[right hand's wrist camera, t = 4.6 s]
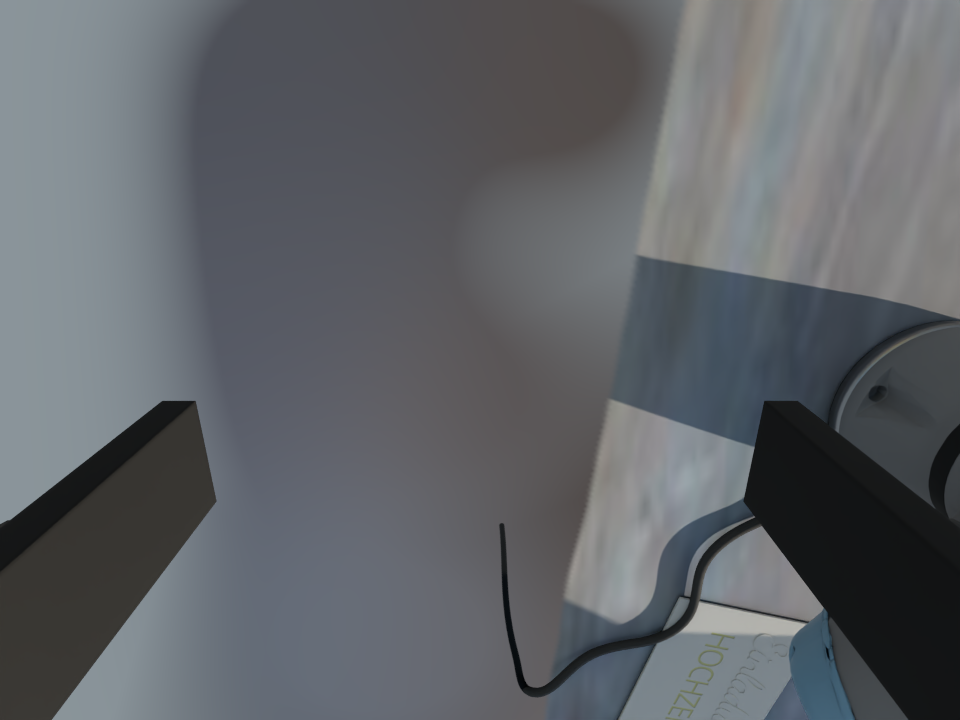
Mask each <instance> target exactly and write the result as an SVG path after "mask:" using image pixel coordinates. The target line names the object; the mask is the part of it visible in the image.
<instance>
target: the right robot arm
mask: <svg viewBox="0 0 960 720" xmlns="http://www.w3.org/2000/svg"><path fill="white" fill-rule="evenodd" d="M215 503H216V497H215V492H214V487H213V482H212V477H211V473H210V468H209V463H208V458H207V454H206V449H205V444H204V439H203V434H202V430H201V425H200V420H199V415H198V410H197V405H196V401H162V402H161V403H159V404H158V405H157V406H155V407H154V408H153V409H152V410H150V411H149V412H148V413H146V414H145V415H144V416H143V417H141V418H140V419H139V420H137V421H136V422H135V423H134V424H132V425H131V426H130V427H129V428H127V429H126V430H125V431H124V432H122V433H121V434H120V435H118V436H117V437H116V438H115V439H113V440H112V441H111V442H110V443H108V444H107V445H106V446H104V447H103V448H102V449H101V450H99V451H98V452H97V453H95V454H94V455H93V456H92V457H90V458H89V459H88V460H86V461H85V462H84V463H83V464H81V465H80V466H79V467H78V468H76V469H75V470H74V471H72V472H71V473H70V474H69V475H67V476H66V477H65V478H64V479H62V480H61V481H60V482H58V483H57V484H56V485H55V486H53V487H52V488H51V489H49V490H48V491H47V492H46V493H44V494H43V495H42V496H41V497H39V498H38V499H37V500H35V501H34V502H33V503H32V504H30V505H29V506H28V507H26V508H25V509H24V510H23V511H21V512H20V513H19V514H18V515H16V516H15V517H14V518H12V519H11V520H8V521H6V522H4V523H2V524H0V720H52V719H53V717H54V716H55V715H56V713H57V712H58V711H59V709H60V708H61V707H62V705H63V704H64V703H65V701H66V700H67V699H68V697H69V696H70V695H71V693H72V692H73V691H74V689H75V688H76V687H77V685H78V684H79V683H80V681H81V680H82V679H83V678H84V676H85V675H86V674H87V672H88V671H89V669H90V668H91V667H92V666H93V664H94V663H95V662H96V660H97V659H98V658H99V656H100V655H101V654H102V652H103V651H104V650H105V648H106V647H107V646H108V644H109V643H110V642H111V640H112V639H113V638H114V636H115V635H116V634H117V632H118V631H119V630H120V629H121V627H122V626H123V625H124V623H125V622H126V620H127V619H128V618H129V617H130V615H131V614H132V612H133V611H134V610H135V609H136V607H137V606H138V605H139V603H140V602H141V601H142V599H143V598H144V597H145V595H146V594H147V593H148V591H149V590H150V589H151V587H152V586H153V585H154V583H155V582H156V581H157V579H158V578H159V577H160V575H161V574H162V573H163V571H164V570H165V569H166V568H167V566H168V565H169V563H170V562H171V561H172V560H173V558H174V557H175V556H176V554H177V553H178V552H179V550H180V549H181V548H182V546H183V545H184V544H185V542H186V541H187V540H188V538H189V537H190V536H191V534H192V533H193V532H194V530H195V529H196V528H197V526H198V525H199V524H200V522H201V521H202V520H203V518H204V517H205V516H206V514H207V513H208V512H209V511H210V509H211V508H212V507H213V505H214V504H215ZM744 503H745V504H746V505H747V507H748V508H749V509H750V511H751V512H752V513H753V515H754V516H755V518H753V519H751V520H749V521H747V522H745V523H743V524H741V525H739V526H737V527H735V528H733V529H732V530H730V531H728V532H727V533H725V534H724V535H723V536H721V537H720V538H719V539H718V540H716V541H715V542H714V543H713V544H712V545H711V546H710V547H709V548H708V549H707V551H706V552H705V553H704V554H703V556H702V558H701V559H700V561H699V563H698V565H697V568H696V571H695V575H694V579H693V585H692V591H691V597H690V602H689V604H688V607H687V609H686V611H685V613H684V614H683V616H682V617H681V618H680V619H679V620H678V621H677V622H676V623H675V624H674V625H672V626H671V627H669V628H668V629H666V630H664V631H662V632H659V633H657V634H653V635H650V636H646V637H641V638H635V639H629V640H623V641H617V642H613V643H608V644H605V645H602V646H598V647H596V648H594V649H591V650H589V651H587V652H585V653H584V654H582V655H581V656H579V657H578V658H576V659H575V660H574V661H573V662H571V663H570V664H569V665H568V666H567V667H566V668H565V669H564V670H563V671H562V672H561V673H560V674H559V675H558V676H556V677H555V678H554V679H553V680H552V681H551V682H549V683H548V684H547V685H545V686H543V687H539V688H533V687H530V686H528V684H527V683H526V681H525V679H524V676H523V671H522V666H521V661H520V657H519V653H518V649H517V645H516V641H515V636H514V631H513V626H512V619H511V612H510V603H509V592H508V575H507V553H506V537H505V526H504V524H503V523H500V524H499V529H500V544H501V573H502V594H503V607H504V616H505V623H506V630H507V635H508V640H509V644H510V649H511V653H512V658H513V662H514V667H515V673H516V678H517V682H518V685H519V687H520V689H521V690H522V691H523V692H524V693H525V694H527V695H528V696H531V697H542V696H545V695H547V694H550V693H551V692H553V691H554V690H556V689H557V688H558V687H559V686H560V685H561V684H563V683H564V682H565V681H566V680H567V679H568V678H569V677H570V676H571V675H572V674H573V673H574V672H575V671H577V670H578V669H579V668H580V667H581V666H583V665H584V664H586V663H587V662H589V661H590V660H592V659H594V658H596V657H599V656H601V655H604V654H608V653H611V652H615V651H620V650H626V649H632V648H638V647H644V646H649V645H653V644H657V643H660V642H662V641H665V640H667V639H669V638H671V637H673V636H675V635H676V634H678V633H679V632H680V631H682V630H683V629H684V628H685V627H686V626H687V625H688V624H689V623H690V621H691V620H692V619H693V617H694V615H695V613H696V611H697V608H698V605H699V601H700V595H701V589H702V584H703V579H704V576H705V573H706V570H707V568H708V566H709V564H710V563H711V561H712V560H713V558H714V557H715V556H716V555H717V554H718V553H719V552H720V551H721V550H722V549H723V548H724V547H725V546H727V545H728V544H729V543H731V542H732V541H734V540H735V539H737V538H738V537H740V536H742V535H744V534H746V533H747V532H750V531H752V530H754V529H756V528H758V527H760V526H763V528H764V529H765V530H766V532H767V533H768V534H769V536H770V537H771V538H772V540H773V541H774V542H775V544H776V545H777V546H778V548H779V549H780V550H781V552H782V553H783V554H784V556H785V557H786V558H787V560H788V561H789V562H790V564H791V565H792V566H793V568H794V569H795V570H796V572H797V573H798V574H799V575H800V577H801V578H802V579H803V581H804V582H805V583H806V585H807V586H808V587H809V589H810V590H811V591H812V593H813V594H814V595H815V597H816V598H817V599H818V601H819V602H820V603H821V605H822V606H823V607H824V609H823V611H822V612H821V613H820V614H819V615H817V616H816V617H815V618H814V619H813V620H811V621H810V622H809V623H808V624H806V625H805V626H804V627H803V628H801V629H800V630H799V631H798V632H797V633H796V634H795V635H794V637H793V639H792V641H791V643H790V647H789V662H790V672H791V675H792V679H793V682H794V685H795V688H796V691H797V694H798V696H799V699H800V701H801V703H802V705H803V708H804V710H805V712H806V714H807V716H808V718H809V720H960V321H940V322H932V323H928V324H923V325H920V326H916V327H913V328H910V329H908V330H905V331H903V332H901V333H898V334H896V335H894V336H892V337H891V338H889V339H887V340H885V341H884V342H882V343H881V344H879V345H878V346H876V347H875V348H874V349H872V350H871V351H870V352H869V353H868V354H866V355H865V356H864V357H863V358H862V359H861V360H860V361H859V362H858V363H857V364H856V365H855V366H854V367H853V368H852V370H851V371H850V372H849V374H848V375H847V376H846V378H845V379H844V381H843V382H842V384H841V385H840V387H839V389H838V391H837V393H836V395H835V398H834V400H833V403H832V406H831V410H830V415H829V422H828V424H826V423H825V422H824V421H823V420H821V419H820V418H819V417H817V416H816V415H815V414H814V413H812V412H811V411H810V410H808V409H807V408H806V407H805V406H803V405H802V404H801V403H800V402H798V401H764V405H763V410H762V415H761V420H760V425H759V429H758V434H757V439H756V444H755V449H754V453H753V458H752V463H751V468H750V473H749V477H748V482H747V487H746V492H745V497H744Z"/></svg>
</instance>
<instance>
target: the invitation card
mask: <svg viewBox="0 0 960 720" xmlns="http://www.w3.org/2000/svg"><path fill="white" fill-rule="evenodd" d="M689 602H690V599H688V598H684V597H679V599H678V601H677V603H676V605H675V607H674V609H673V611H672V613H671V615H670V617H669V619H668V621H667V623H666V625H665V627H664V629H663V631H664V630H666V629H668V628H669V627H671V626H672V625H674V624H675V623H676V622H677V621H678V620H679V619H680V618H681V617H682V616H683V614H684V613H685V611H686V609H687V607H688V604H689ZM806 624H808V623H805V622H800V621H795V620H790V619H785V618H780V617H776V616H771V615H766V614H761V613H756V612H751V611H747V610H742V609H737V608H732V607H727V606H722V605H717V604H713V603H708V602H703V601H699V605H698V608H697V611H696V613H695V615H694V617H693V619H692V620H691V621H690V623H689V624H688V625H687V626H686V627H685V628H684V629H683V630H682V631H680V632H679V633H678V634H676V635H675V636H673V637H671V638H669V639H667V640H665V641H662V642H660V643H657V644H655V646H654V648H653V650H652V652H651V654H650V656H649V658H648V660H647V662H646V664H645V666H644V668H643V670H642V672H641V674H640V676H639V678H638V680H637V682H636V684H635V686H634V688H633V690H632V692H631V694H630V696H629V698H628V700H627V702H626V704H625V706H624V708H623V710H622V712H621V714H620V716H619V718H618V720H764V719H765V717H766V716H767V714H768V712H769V711H770V709H771V708H772V706H773V705H774V703H775V702H776V700H777V698H778V697H779V695H780V694H781V692H782V691H783V689H784V687H785V686H786V684H787V683H788V681H789V680H790V678H791V677H792V675H791V672H790V662H789V647H790V643H791V641H792V639H793V637H794V635H795V634H796V633H797V632H798V631H799V630H800V629H801V628H803V627H804V626H805V625H806Z"/></svg>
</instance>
